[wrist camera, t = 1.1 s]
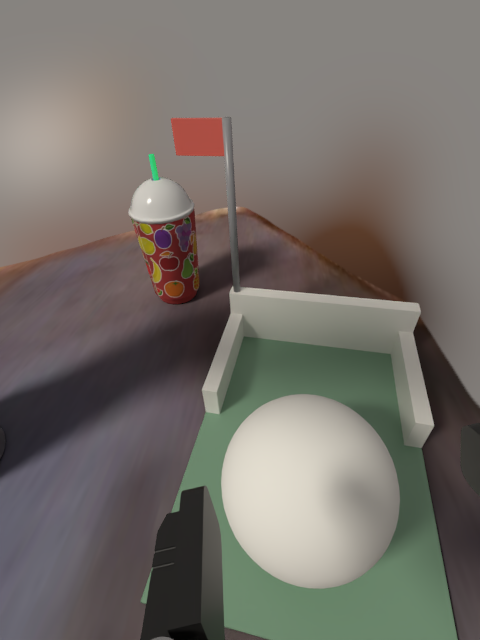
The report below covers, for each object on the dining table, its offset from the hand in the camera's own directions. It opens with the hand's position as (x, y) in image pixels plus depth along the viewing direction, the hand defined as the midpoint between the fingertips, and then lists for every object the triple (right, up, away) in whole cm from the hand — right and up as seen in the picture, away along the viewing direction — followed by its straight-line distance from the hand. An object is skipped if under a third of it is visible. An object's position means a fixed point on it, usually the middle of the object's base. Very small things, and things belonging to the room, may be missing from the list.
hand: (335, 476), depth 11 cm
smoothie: (-12, +9, +43) cm, 45 cm away
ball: (+2, -7, +14) cm, 15 cm away
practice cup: (+1, -7, +23) cm, 24 cm away
